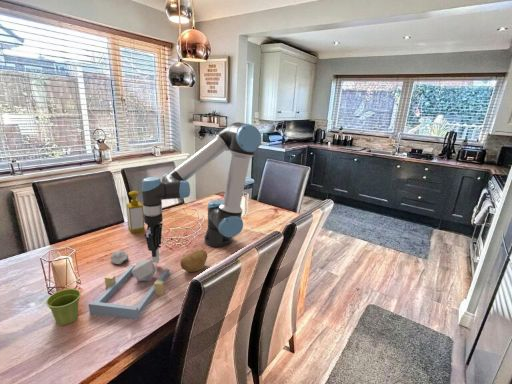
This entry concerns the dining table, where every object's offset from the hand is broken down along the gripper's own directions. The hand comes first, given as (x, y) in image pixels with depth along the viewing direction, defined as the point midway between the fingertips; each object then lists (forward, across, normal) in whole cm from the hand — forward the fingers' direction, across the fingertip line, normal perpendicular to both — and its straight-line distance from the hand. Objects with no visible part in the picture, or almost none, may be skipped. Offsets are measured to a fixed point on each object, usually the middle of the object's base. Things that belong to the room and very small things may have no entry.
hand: (155, 261), depth 127 cm
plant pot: (+2, +36, -14) cm, 39 cm away
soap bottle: (+2, -34, -25) cm, 43 cm away
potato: (+2, -1, +18) cm, 18 cm away
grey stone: (+2, 0, -18) cm, 18 cm away
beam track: (+2, +18, 0) cm, 19 cm away
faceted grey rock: (+2, +10, 0) cm, 11 cm away
